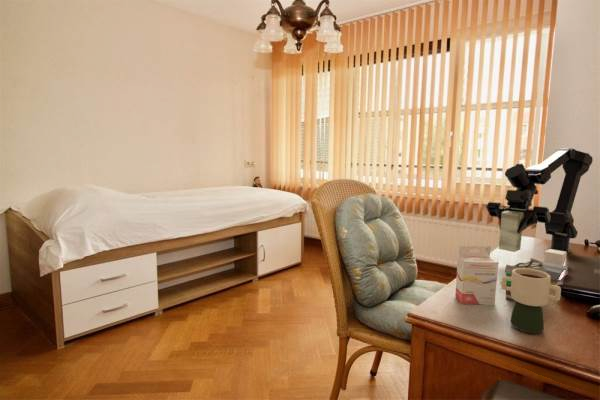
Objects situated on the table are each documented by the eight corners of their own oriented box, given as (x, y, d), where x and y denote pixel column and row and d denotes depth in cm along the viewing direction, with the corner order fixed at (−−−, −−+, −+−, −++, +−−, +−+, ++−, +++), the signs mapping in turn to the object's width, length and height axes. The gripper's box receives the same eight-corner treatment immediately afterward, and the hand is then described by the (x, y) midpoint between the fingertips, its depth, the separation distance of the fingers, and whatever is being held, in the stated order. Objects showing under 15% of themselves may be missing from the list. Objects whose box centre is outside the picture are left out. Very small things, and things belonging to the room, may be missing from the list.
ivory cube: (548, 262, 122) (549, 248, 121) (565, 265, 118) (566, 251, 118) (543, 265, 119) (544, 251, 118) (561, 269, 115) (562, 254, 114)
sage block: (504, 246, 122) (507, 210, 120) (520, 249, 118) (523, 212, 116) (498, 248, 119) (501, 212, 117) (514, 252, 115) (517, 214, 113)
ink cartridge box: (461, 304, 89) (464, 250, 87) (454, 296, 94) (457, 244, 92) (495, 305, 88) (499, 250, 86) (487, 297, 93) (490, 245, 91)
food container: (526, 310, 86) (529, 271, 84) (502, 300, 91) (505, 264, 90) (553, 299, 91) (556, 263, 90) (529, 291, 97) (531, 257, 95)
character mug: (557, 329, 76) (562, 273, 74) (556, 343, 71) (561, 283, 69) (501, 315, 83) (504, 264, 81) (496, 327, 77) (500, 272, 76)
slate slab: (535, 268, 117) (536, 260, 116) (568, 275, 110) (568, 266, 109) (525, 274, 111) (526, 265, 111) (559, 282, 104) (560, 273, 104)
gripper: (489, 180, 125) (474, 213, 119) (550, 183, 110) (536, 221, 105) (497, 199, 131) (483, 231, 125) (556, 204, 116) (542, 241, 111)
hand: (509, 231), depth 117 cm, fingers closed on sage block, 5 cm apart
